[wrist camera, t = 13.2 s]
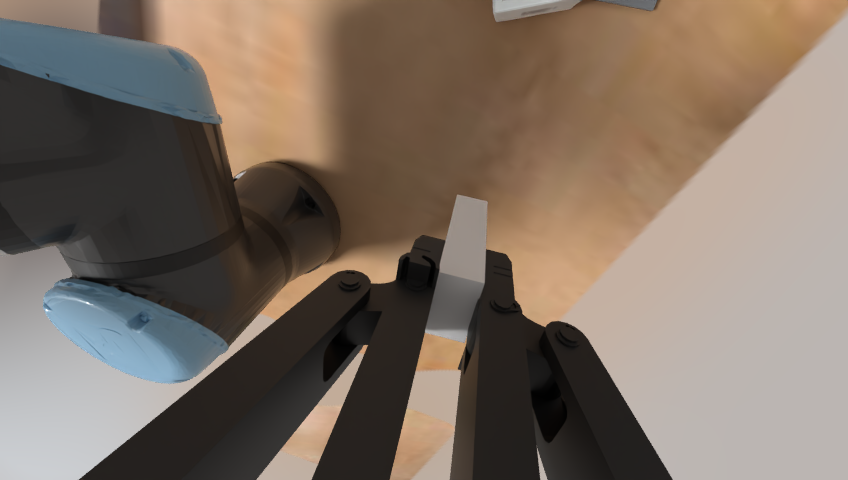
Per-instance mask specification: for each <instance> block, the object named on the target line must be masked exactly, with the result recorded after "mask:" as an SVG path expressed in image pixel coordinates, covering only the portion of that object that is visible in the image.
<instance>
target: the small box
mask: <svg viewBox="0 0 848 480" xmlns="http://www.w3.org/2000/svg"><path fill="white" fill-rule="evenodd" d="M580 1H582V0H493V14H494V18H495V21H496V22H501V21H508V20H514V19H520V18H525V17H530V16H535V15H540V14H546V13H551V12H557V11H563V10H569V9H571V8H572V7H573V6H575V5H576V4H577V3H579V2H580Z"/></svg>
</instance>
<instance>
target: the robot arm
mask: <svg viewBox="0 0 848 480" xmlns="http://www.w3.org/2000/svg"><path fill="white" fill-rule="evenodd" d="M220 124H222V118H221V116H220V115H219V114H217V110H216V107H215V104H214V101H213V97H212V94H211V91H210V87H209V84H208V80H207V77H206V74H205V72H204V70H203V68H202V67H201V65H200V64H199V63H198V62H197V61H196V60H195V59H194V58H193V57H192V56H191V55H189V54H188V53H186V52H185V51H183V50H181V49H178V48H175V47H172V46H167V45H162V44H156V43H151V42H145V41H139V40H133V39H127V38H121V37H115V36H109V35H103V34H97V33H91V32H85V31H79V30H73V29H67V28H61V27H55V26H49V25H43V24H37V23H30V22H24V21H16V20H10V19H4V18H0V256H9V255H14V254H18V253H23V252H27V251H31V250H36V249H40V248H45V247H50V246H56V247H57V248H58V249H59V251H60V253H61V254H62V256H63V258H64V259H65V261H66V263H67V264H68V266H69V268H70V269H71V272H72V277H70V278H66V279H62V280H60V281H58V282H56V283H55V285H54V287H53V288H52V289H50V290H49V291H48V292H46V294H45V296H44V299H43V301H44V304H43V308H44V311H45V313H46V315H47V317H49V319H50V321H51V322H52V323H53V324H54V325H55V326H56V327H57V328H58V330H59V331H60V332H61V333H63V334H64V335H65V336H66V337H67V338H68V339H70V340H71V341H72V342H73V343H75V344H76V345H77V346H79V347H80V348H81V349H83V350H84V351H86V352H87V353H89V354H90V355H92V356H93V357H95V358H97V359H99V360H101V361H102V362H104V363H106V364H108V365H110V366H112V367H114V368H116V369H118V370H120V371H122V372H125V373H127V374H130V375H132V376H135V377H138V378H141V379H145V380H149V381H153V382H158V383H180V382H184V381H187V380H190V379H192V378H193V377H196V376H197V375H198V374H200V373H201V372H202V371H203V370H204V369H205V368H206V367H207V366H208V365H210V364H211V363H212V362H213V361H214V360H215V359H216V358H217V357H218V356H219V355H221V354H223V353H225V352H226V351H227V350H228V348H229V346H230V345H231V344H232V343H233V342H234V341H235V340H236V338H237V337H238V336H239V335H240V334H241V333H242V332H243V331H244V329H246V327H247V326H248V325H249V324H250V323H251V322H252V321H253V320H254V319H255V318H256V316H257V315H258V314H259V313H260V312H261V311H262V310H263V309H264V308H265V307H266V306H267V304H268V303H269V302H270V301H271V300H272V299H273V298H274V297H275V296H276V295H277V293H278V292H279V291H280V290H281V289H282V288H283V287H284V286H285V285H286V284H287V283H288V282H290V281H292V280H294V279H296V278H297V277H299V276H301V275H303V274H306V273H309V272H312V271H314V270H316V269H318V268H319V267H320V266H322V265H323V264H324V263H325V262H326V261H327V260H328V259H329V257H330V256H331V255H332V254H333V253H334V251H335V250H336V248H337V246H338V243H339V239H340V221H339V217H338V213H337V211H336V208H335V206H334V204H333V202H332V200H331V199H330V197H329V196H328V194H327V193H326V192H325V190H324V189H323V188H322V187H321V186H320V185H319V184H318V183H317V182H316V181H315V180H314V179H313V178H311V177H310V176H309V175H307V174H306V173H304V172H302V171H301V170H299V169H297V168H295V167H292V166H289V165H286V164H282V163H276V162H266V163H260V164H257V165H255V166H252V167H250V168H248V169H246V170H244V171H242V172H240V173H239V174H237V175H236V176H235V177H234V178H233V177H232V172H231V168H230V164H229V160H228V156H227V151H226V147H225V143H224V139H223V135H222V130H221V126H220ZM487 206H488V201H484V200H480V199H475V198H471V197H467V196H462V195H458V194H457V197H456V201H455V205H454V209H453V213H452V217H451V221H450V225H449V229H448V233H447V237H446V240H441V239H437V238H433V237H429V236H425V235H422V236H420V237H419V238H417V239H416V240H415V242H414V245H413V247H412V250H411V252H410V253H406V254H404V255H402V256H401V257H400V259H399V263H398V270H397V276H396V280H395V281H392V282H389V283H383V284H371V281H370V279H369V278H368V276H366V275H365V274H363V273H362V272H358V271H354V270H345V271H340V272H337V273H335V274H334V275H332V276H331V277H329V278H328V279H327V280H326V281H324V282H323V283H322V284H321V285H320V286H318V287H317V288H316V289H315V290H313V291H312V292H311V293H310V294H308V295H307V296H306V297H305V298H303V299H302V300H301V301H300V302H298V303H297V304H296V305H295V306H293V307H292V308H291V309H290V310H289V311H287V312H286V313H285V314H284V315H282V316H281V317H280V318H279V319H277V320H276V321H275V322H274V323H273V324H271V325H270V326H269V327H267V328H266V329H265V330H264V331H263V332H261V333H260V334H259V335H258V336H256V337H255V338H254V339H253V340H251V341H250V342H249V343H248V344H246V345H245V346H244V347H243V348H241V349H240V350H239V351H238V352H237V353H235V354H234V355H233V356H231V357H230V358H229V359H228V360H227V361H225V362H224V363H223V364H222V365H221V366H219V367H218V368H217V369H215V370H214V371H213V372H212V373H210V374H209V375H208V376H207V377H205V378H204V379H203V380H202V381H201V382H199V383H198V384H197V385H196V386H194V387H193V388H192V389H191V390H189V391H188V392H187V393H186V394H185V395H183V396H182V397H181V398H179V399H178V400H177V401H176V402H175V403H173V404H172V405H171V406H170V407H168V408H167V409H166V410H165V411H164V412H162V413H161V414H160V415H158V416H157V417H156V418H155V419H153V420H152V421H151V422H150V423H148V424H147V425H146V426H145V427H144V428H142V429H141V430H140V431H138V432H137V433H136V434H135V435H134V436H132V437H131V438H130V439H129V440H127V441H126V442H125V443H124V444H122V445H121V446H120V447H119V448H117V450H115V451H114V452H112V454H110V455H109V456H108V457H106V458H105V459H104V460H103V461H101V462H100V463H99V464H98V465H97V466H95V467H94V468H93V469H92V470H90V471H89V472H88V473H86V474H85V475H84V476H83V477H82V478H80V479H79V480H256V479H257V478H258V477H259V475H260V474H261V473H262V472H263V471H264V469H265V468H266V467H267V466H268V464H269V463H270V462H271V461H272V459H273V458H274V457H275V456H276V454H277V453H278V452H279V451H280V449H281V448H282V447H283V446H284V445H285V443H286V442H287V441H288V440H289V438H290V437H291V436H292V435H293V433H294V432H295V431H296V430H297V428H298V427H299V426H300V425H301V423H302V422H303V421H304V420H305V418H306V417H307V416H308V415H309V414H310V412H311V411H312V410H313V409H314V407H315V406H316V405H317V404H318V402H319V401H320V400H321V399H322V397H323V396H324V395H325V394H326V392H327V391H328V390H329V389H330V388H331V386H332V385H333V384H334V383H335V381H336V380H337V379H338V378H339V376H340V375H341V374H342V373H343V371H344V370H345V369H346V368H347V366H348V365H349V364H350V363H351V361H352V360H353V359H354V358H355V357H356V355H357V354H358V353H359V352H360V350H361V349H362V347H363V345H368V347H367V349H366V352H365V354H364V357H363V359H362V361H361V364H360V366H359V368H358V371H357V373H356V375H355V378H354V380H353V383H352V385H351V387H350V390H349V392H348V394H347V397H346V399H345V402H344V404H343V406H342V409H341V411H340V414H339V416H338V418H337V421H336V423H335V425H334V428H333V430H332V433H331V435H330V437H329V440H328V442H327V444H326V447H325V449H324V452H323V454H322V456H321V459H320V461H319V463H318V466H317V468H316V471H315V473H314V475H313V478H312V480H390V475H391V471H392V467H393V463H394V459H395V455H396V450H397V446H398V442H399V438H400V434H401V429H402V425H403V421H404V417H405V413H406V409H407V404H408V400H409V396H410V392H411V388H412V383H413V379H414V375H415V371H416V367H417V363H418V358H419V354H420V350H421V346H422V342H423V337H424V333H428V334H432V335H436V336H440V337H444V338H448V339H451V340H455V341H459V342H463V343H465V340H466V337H467V343H466V347H465V350H464V353H463V356H462V358H461V361H460V364H459V367H458V369H459V370H461V378H460V386H459V396H458V406H457V416H456V425H455V435H454V444H453V454H452V464H451V473H450V480H540V475H539V474H540V473H539V466H538V465H539V464H538V455H537V448H538V451H539V454H540V458H541V461H542V463H543V467H544V470H545V473H546V476H547V479H548V480H672V478H671V476H670V474H669V473H668V471H667V469H666V468H665V466H664V464H663V463H662V461H661V459H660V458H659V456H658V454H657V453H656V451H655V450H654V448H653V446H652V445H651V443H650V441H649V440H648V438H647V436H646V435H645V433H644V431H643V430H642V428H641V426H640V425H639V423H638V421H637V420H636V418H635V417H634V415H633V413H632V411H631V410H630V408H629V406H628V405H627V403H626V401H625V400H624V398H623V397H622V395H621V393H620V392H619V390H618V388H617V387H616V385H615V383H614V382H613V380H612V378H611V377H610V375H609V373H608V372H607V370H606V368H605V367H604V365H603V364H602V362H601V360H600V358H599V357H598V355H597V354H596V352H595V350H594V349H593V347H592V345H591V344H590V342H589V340H588V339H587V338H586V336H585V335H584V334H583V333H582V332H581V331H580V330H578V329H577V328H576V327H574V326H572V325H570V324H568V323H564V322H560V321H555V322H551V323H549V324H547V326H546V328H545V327H543V326H541V325H539V324H537V323H535V322H533V321H531V320H530V319H528V318H527V317H525V316H524V315H523V314H522V309H521V307H520V305H519V304H518V303H517V301H516V300H515V296H514V285H513V273H512V262H511V261H510V259H509V258H508V256H507V255H506V254H503V253H499V252H495V251H491V250H487V249H486V233H487ZM536 445H537V446H536Z"/></svg>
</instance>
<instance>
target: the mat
mask: <svg viewBox="0 0 848 480" xmlns="http://www.w3.org/2000/svg"><path fill="white" fill-rule="evenodd" d="M597 1H602V2H607V3H612V4H617V5H622V6H627V7H633V8H638V9H643V10H648V11H653V9H654V7H655V5H656V2H657V0H597Z"/></svg>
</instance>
